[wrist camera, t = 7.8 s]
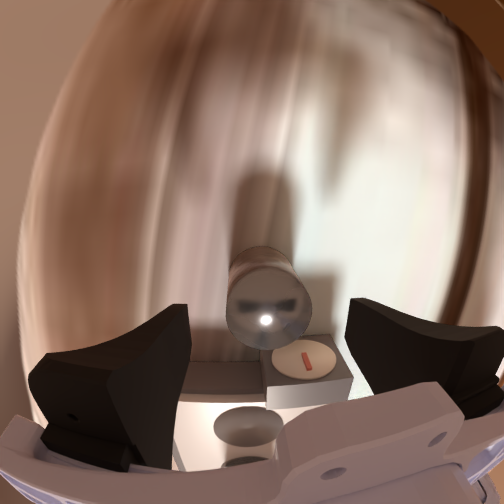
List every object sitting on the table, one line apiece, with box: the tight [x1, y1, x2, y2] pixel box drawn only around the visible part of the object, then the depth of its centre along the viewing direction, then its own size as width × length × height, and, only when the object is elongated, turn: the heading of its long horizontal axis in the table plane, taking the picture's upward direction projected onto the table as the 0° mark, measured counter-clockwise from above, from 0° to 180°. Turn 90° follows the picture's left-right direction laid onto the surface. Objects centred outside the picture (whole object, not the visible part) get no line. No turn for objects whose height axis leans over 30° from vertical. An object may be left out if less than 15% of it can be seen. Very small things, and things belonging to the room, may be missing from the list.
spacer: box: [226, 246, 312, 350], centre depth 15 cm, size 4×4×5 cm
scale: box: [172, 334, 354, 472], centre depth 18 cm, size 13×15×5 cm
